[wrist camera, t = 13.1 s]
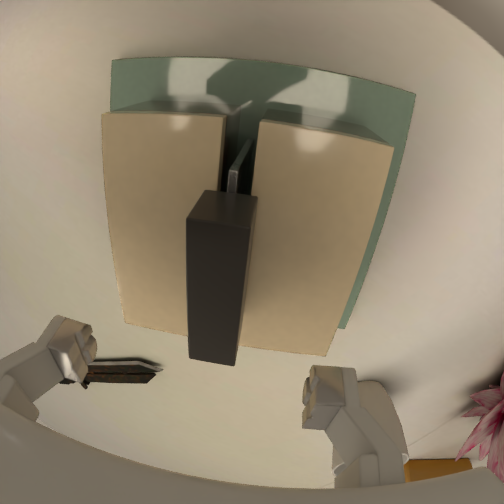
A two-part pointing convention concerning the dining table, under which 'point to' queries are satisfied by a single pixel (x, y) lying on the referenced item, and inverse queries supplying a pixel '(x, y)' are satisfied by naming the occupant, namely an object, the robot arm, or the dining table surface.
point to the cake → (251, 186)
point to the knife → (117, 377)
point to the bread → (434, 468)
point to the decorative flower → (488, 428)
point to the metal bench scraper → (220, 264)
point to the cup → (382, 412)
